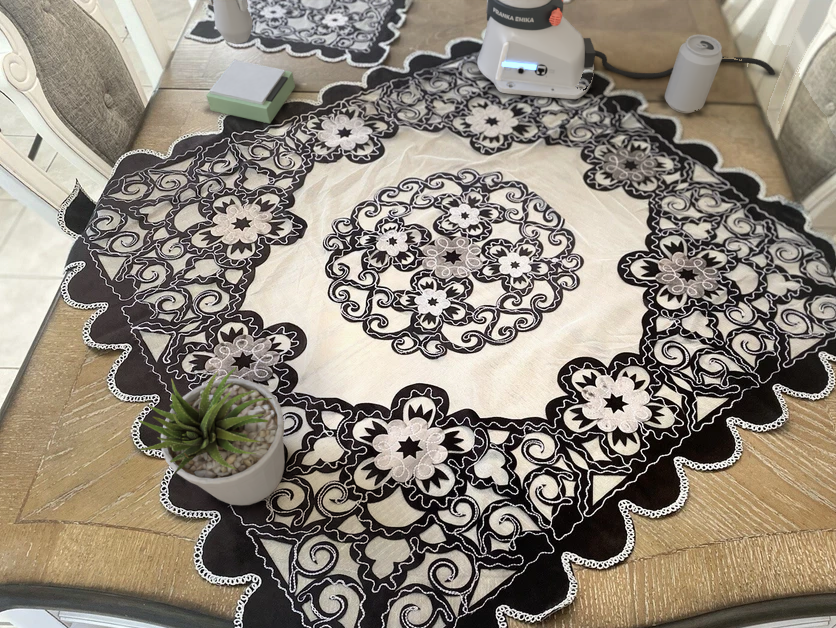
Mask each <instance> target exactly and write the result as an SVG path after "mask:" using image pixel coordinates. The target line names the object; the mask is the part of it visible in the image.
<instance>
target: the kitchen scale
mask: <svg viewBox="0 0 836 628" xmlns="http://www.w3.org/2000/svg"><path fill="white" fill-rule="evenodd" d="M295 88H296V85H295V79H294V73H293V72H292V71H289V70H285V69H282V68H277V67H272V66H267V65H263V64H258V63H253V62H249V61H246V60H245V61H244V60H241V59H240V60H239V59H235V58H234V59H233V61H232V62H231V63H230V64H229V66H228V67H226V69H225V70H224V72H223V73H222V74H221V76H220V77H219V78H218V79H217V80H216V82H214V84H213V86H211V88H210V89H209V90H208V93H207V94H206V99H207V102H208V105H209V109H210V111H212V112H215V113H221V114H225V115H229V116H234V117H238V118H244V119H247V120H252V121H257V122H261V123H265V124H271V123H272V122H273V120H274V118H275V117H276V116H277V114H278V113H279V111H280V110H281V108H282V107H283V106H284V104H285V102H286V101H287V99H288V98H289V97H290V95H291V93H292V92H293V91H294V89H295Z"/></svg>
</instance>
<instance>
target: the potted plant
mask: <svg viewBox="0 0 836 628" xmlns="http://www.w3.org/2000/svg"><path fill="white" fill-rule="evenodd" d="M237 368H238V367H237V366H236V367H234V368H233V369H231V370H230V371H229V372H228V373H227V374H226V375H225V376H224V377H223V378H221V379H217V380H216V377H217V375H218V373H219V370H216V372H215V373H214V374H213V376H212V377H211V378H210V379H209V381H208V382H206V383H204V384H202V385H199V386H197V387H195V388H193V389H192V390H191V391H189V392H187V393H186V394H185V395H183V396H182V395H181V394H180V393H179V391H178V390H177V387H176V385H175V383H174V380H173V378H170V379H171V386H172V390H173V392H172V393H171V396H170V398H171V402H172V403H171V404H169V405H168V406H169V407H170V408H171V409H170V410H169V411H165V410H162V409H159V408H157V407H155V406H152V405H148V407H149V408H150V409H151V410H153V411H155V412H156V413H157V414H159V415H160V416H162V417H165V419H162V418H160V417H158V416H152V418H153V419H155V420H156V421H157V422H158V423H160V424H162V426H159V425H156V424H152V423H149V422H147V421H144V420H141V419H138V422H139V423H141V424H142V425H144V426H146V427H148V428H150V429H152V430H154V431H156V432H158V433H159V434H160V436H157V439H158V440H159V441H160V442H159V443H156V444H153V445H150V446H146V447H142V448H138V451H150V450H151V451H152V450H161V452H162V455H163V457H164V460H165V463H167V465H168V466H169V467H170V468H171V469H172V470H173V471H174V473H173V475H176V474H177V475H179V476H180V477H181V478H183V479H184V480H186V481H187V482H189V483H191V484H194V485H196V486H198V487H199V488H200V489H202V490H204V491H205V492H206V493H208V494H210V495H211V496H213V497H214V498H216V499H217V500H218V501H221V502H224V503H226V504H229V505H231V506H250V505H253V504H256V503H259V502H261V501H263V500H264V499H265V498H268V497H269V496H270V495H271V494H272V493H273V492H274V491H275V490H276V489H277V488H278V486H279V484H280V483H281V481H282V479H283V474H284V472H285V471H284V470H285V463H286V462H285V446H284V435H285V421H284V416H283V409H282V407H281V404H280V403H279V401H278V399H277V398H276V396H275V395H274V394H273V393H272V391H270V390H269V389H267V388H266V387H264V386H263V385H261V384H260V383H257V382H254V381H251V380H249V379H244V378H238V377H235V378H229V377H230V376H231V375H232V374H233V373H234V372H235V371H236V370H237Z"/></svg>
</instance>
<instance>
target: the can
mask: <svg viewBox="0 0 836 628" xmlns="http://www.w3.org/2000/svg"><path fill="white" fill-rule="evenodd" d="M722 49H723V47H722V44H721V42H720V41H718V39H717V38H715V37H712V36H710V35H707V34H692V35H690V36H688V37H687V38H686V40H685V42H683V43H682V44H681V45H680V46H679V50H678V53H677V55H676V59H675V62H674V65H673V67H674V68H673V67H672V68H673V71H672V74H671V75H670V77H669V80H668V83H667V86H666V89H665V92H664V100H665V102H666V103H667V104H668V106H669V107H670V108H671V109H673V110H674V111H675V112H678V113H681V114H691V113H694V112H696V111H699V110H701V109H702V108H703V107H704V105H705V103H706V101H707V98H708V95H709V93H710V90H711V88H712V85H713V83H714V80H715V77H716V75H717V72H718V70H719V67H720V65H721V63H722V62H721V60H722V57H723V53H722ZM698 109H699V110H698ZM694 110H696V111H694Z"/></svg>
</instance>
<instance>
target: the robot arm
mask: <svg viewBox="0 0 836 628" xmlns="http://www.w3.org/2000/svg"><path fill="white" fill-rule="evenodd" d="M207 1H208V4H209V5H211V6H214V5H213V0H207ZM236 2H237V5H238V7H239V9H240V10H241V11H244V12H245V11H246V10H247V8H248V9H249V3H248V0H236ZM564 4H565V3H564V0H486V9H485V10H486V12H485V14H486V22H487V23H486V29H485V33H484V37H483V38H484V39H483V43H482V45H481V48H480V51H479V53H478V55H477V60H476V65H477V67H478V70H479V71H480V73H481V74H482V75H483V76H484V77H486V78H487V79H488V80H489V81H490V82H492V83H493V84H494V86H495V88H496V90H497V91H499V93H502V94H508V95H509V94H510V95H521V96H533V97H534V96H535V97H544V98H554V99H566V100H567V99H568V100H578V99H580V98H581V97H583V96H585V94H586V93H587V92H588V91H589V89H590V88H591V86H592V82H593V79H594V76H593V77H592V80H591V83H590V84H589V86H588V87H587V89H586V90H584V91H583V89H585V88H586V86H585V85H582V84H579V81H580V79H581V77H582V74H583V71H584V69H592V70H594V71H595V65H594V63H595V59H596V57H597V58H599V59H601V65H602V66H603V68H605V69H606V70H607V71H609V72H611V73H615V74H618V75H621V76H623V77H628V78H632V79H643V80H644V79H647V80H648V79H650V80H651V79H652V80H653V79H662V78H665V77H668V76H671V74H672V71H673V68H674V66H673V67H670V68H669V69H667V70H664V71H660V72H631V71H626V70H623V69H619V68H617V67H615V66H613V65H611V63H609V62H608V57H607V55H606V54H605V53H603V52H602V51H600V50H596V49H595V47H594V44H593V41H592V40H591V37H584V36H583V34H582V32H581V31H579V30H578V29H577V28H576V27H575V26H574V25H573V24H572V23H571V22H570V21H569V20H567V18H566V17H565V16H564V15H563V12H564ZM724 57H725V56H722V58H724ZM733 57H734V58H736V59H738V60H734V59H722V60H721V62H720V63H736V64H752V65H756V66H759V67H761V68H763V69H764V70H766V71H767V73H768V74H769V75H771V76H775V75H776V72H775V70H774V68H773V67H772V66H771V65H770V64H769V63H767V62H766V61H764V60H762V59H758V58H753V57H738V56H733ZM739 59H740V60H741V59H742V61H739ZM593 75H594V73H593ZM577 84H579V85H577ZM575 86H577V87H578V89H577V88H576V87H575ZM580 89H581V90H580Z"/></svg>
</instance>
